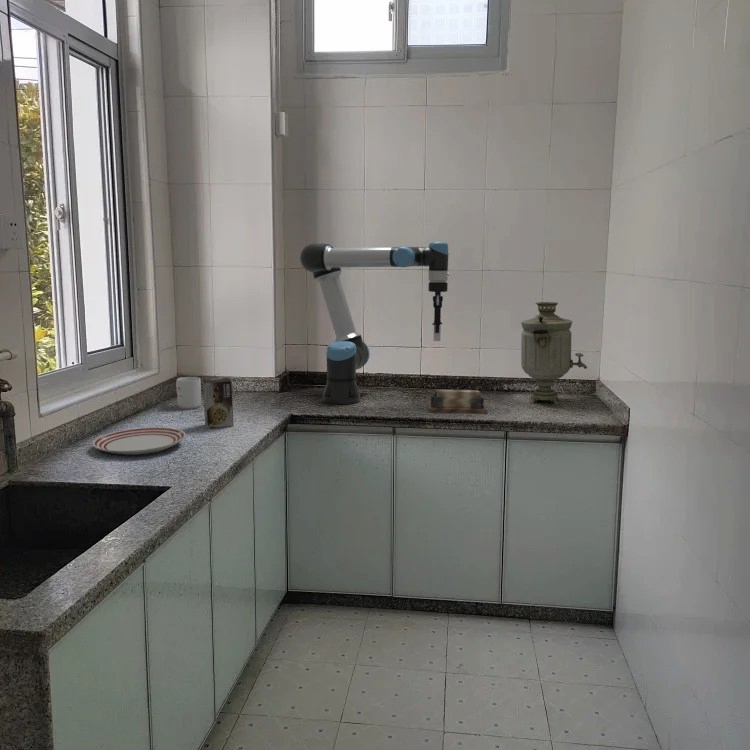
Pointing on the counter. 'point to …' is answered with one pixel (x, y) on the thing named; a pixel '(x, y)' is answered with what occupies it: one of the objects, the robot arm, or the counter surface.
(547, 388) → the samovar
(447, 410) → the slat base
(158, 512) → the counter surface
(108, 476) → the counter surface
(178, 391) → the mug
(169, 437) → the dinner plate
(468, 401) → the slat
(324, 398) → the robot arm
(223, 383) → the coffee box
